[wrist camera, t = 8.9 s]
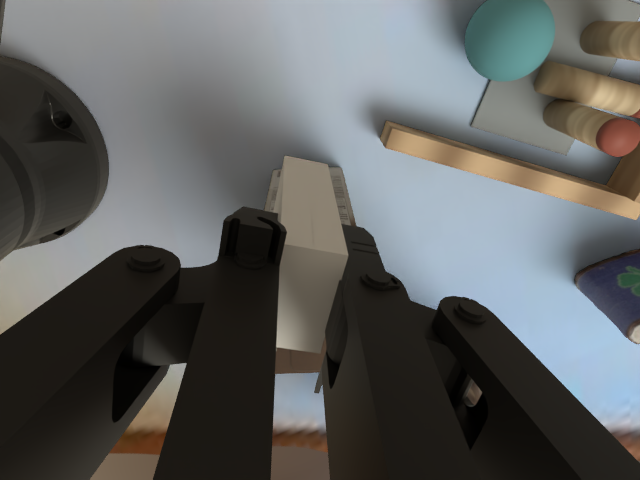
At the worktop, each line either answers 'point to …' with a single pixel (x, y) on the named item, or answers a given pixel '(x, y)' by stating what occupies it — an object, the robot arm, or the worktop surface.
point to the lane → (524, 170)
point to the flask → (615, 290)
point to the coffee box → (313, 361)
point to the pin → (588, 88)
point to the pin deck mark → (519, 95)
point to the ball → (509, 38)
